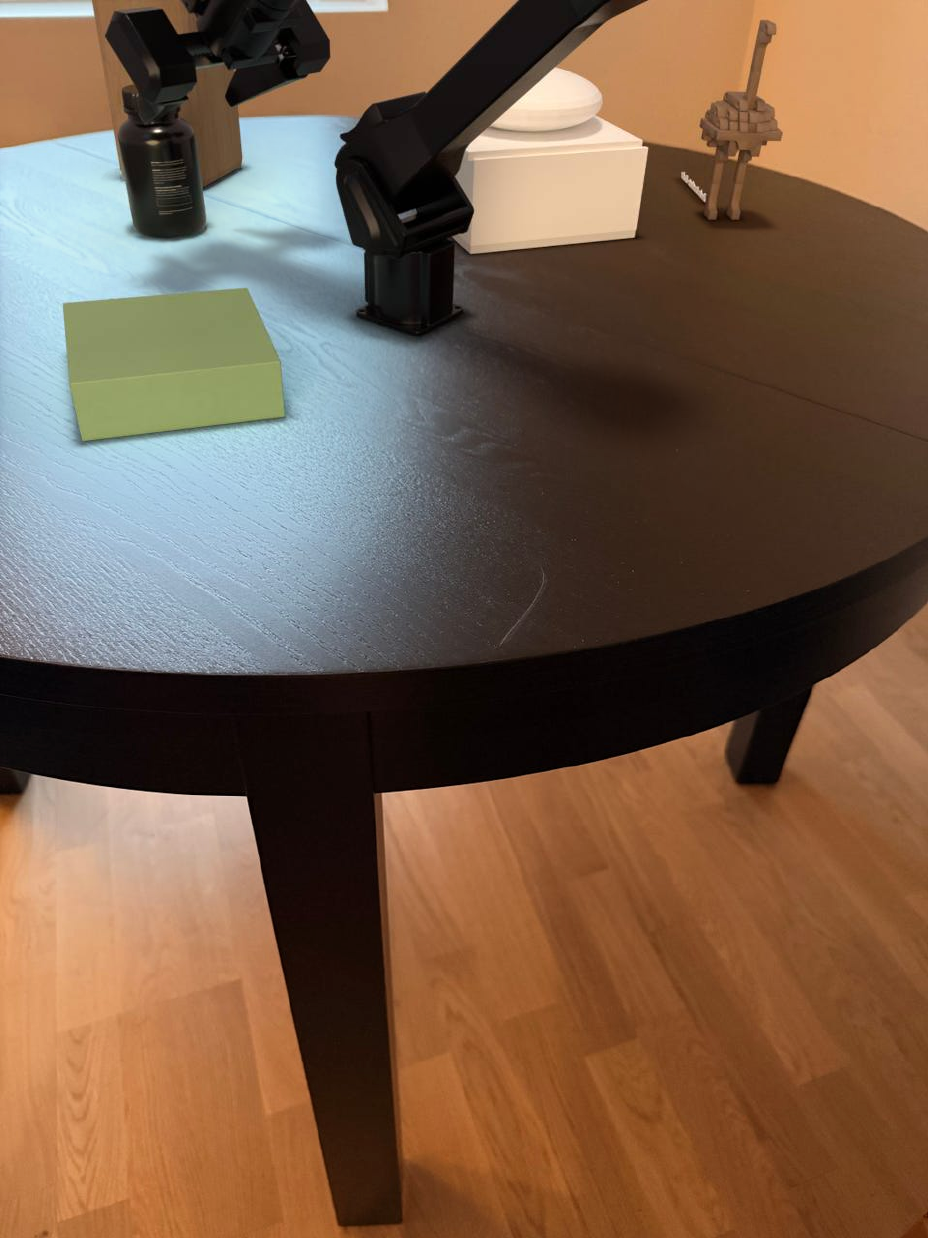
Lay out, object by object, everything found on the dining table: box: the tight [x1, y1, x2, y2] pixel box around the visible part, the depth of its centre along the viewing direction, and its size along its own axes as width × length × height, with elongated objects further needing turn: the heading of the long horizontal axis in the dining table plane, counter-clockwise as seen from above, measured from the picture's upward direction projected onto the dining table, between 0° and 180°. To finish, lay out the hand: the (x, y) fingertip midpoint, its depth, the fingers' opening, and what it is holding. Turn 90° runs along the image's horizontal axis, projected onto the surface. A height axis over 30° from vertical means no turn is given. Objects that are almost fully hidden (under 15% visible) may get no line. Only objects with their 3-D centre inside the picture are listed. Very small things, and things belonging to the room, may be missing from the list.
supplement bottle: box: [117, 84, 207, 239], centre depth 91 cm, size 7×7×12 cm
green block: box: [62, 287, 286, 442], centre depth 69 cm, size 13×13×4 cm
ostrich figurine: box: [680, 19, 784, 221], centre depth 102 cm, size 17×7×18 cm, turn 7°
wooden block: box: [91, 0, 244, 188], centre depth 102 cm, size 10×10×20 cm
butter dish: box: [451, 66, 649, 255], centre depth 96 cm, size 18×18×16 cm
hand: (187, 110), depth 85 cm, fingers open, 9 cm apart
